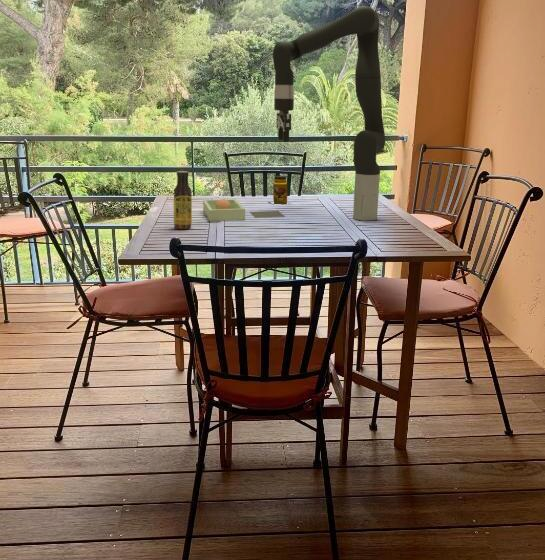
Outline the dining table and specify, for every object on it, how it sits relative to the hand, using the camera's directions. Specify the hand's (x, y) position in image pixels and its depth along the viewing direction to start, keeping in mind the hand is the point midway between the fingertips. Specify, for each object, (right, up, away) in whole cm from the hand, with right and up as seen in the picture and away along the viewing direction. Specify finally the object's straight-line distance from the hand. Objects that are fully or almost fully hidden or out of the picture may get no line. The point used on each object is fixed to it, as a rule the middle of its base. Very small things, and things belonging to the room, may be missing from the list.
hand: (283, 140), depth 227 cm
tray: (-23, -30, -1) cm, 38 cm away
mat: (-6, -29, 0) cm, 30 cm away
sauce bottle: (-36, -37, -22) cm, 56 cm away
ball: (-23, -29, -2) cm, 38 cm away
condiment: (-1, -21, +26) cm, 34 cm away
